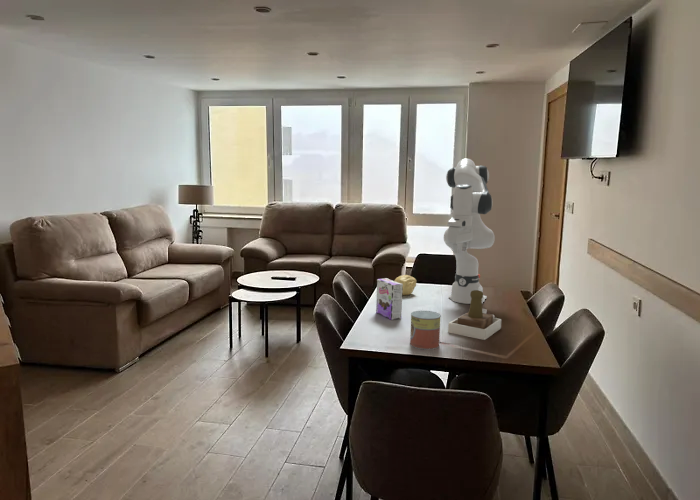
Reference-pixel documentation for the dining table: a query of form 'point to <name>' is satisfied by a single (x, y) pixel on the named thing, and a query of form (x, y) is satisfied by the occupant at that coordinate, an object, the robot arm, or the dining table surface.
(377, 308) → the candy box
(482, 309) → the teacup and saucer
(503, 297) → the dining table surface
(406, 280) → the beige rounded lump
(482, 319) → the walnut block
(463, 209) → the robot arm
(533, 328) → the dining table surface
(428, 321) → the canned food
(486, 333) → the tote
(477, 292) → the olive waisted cylinder
